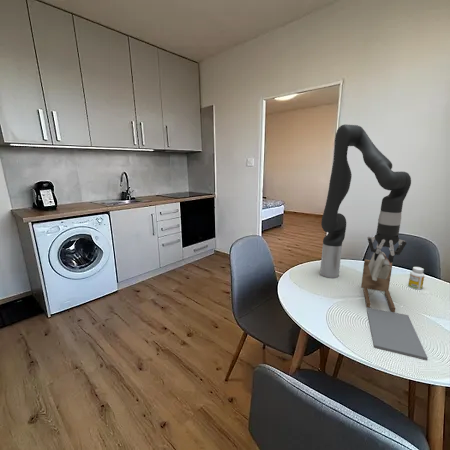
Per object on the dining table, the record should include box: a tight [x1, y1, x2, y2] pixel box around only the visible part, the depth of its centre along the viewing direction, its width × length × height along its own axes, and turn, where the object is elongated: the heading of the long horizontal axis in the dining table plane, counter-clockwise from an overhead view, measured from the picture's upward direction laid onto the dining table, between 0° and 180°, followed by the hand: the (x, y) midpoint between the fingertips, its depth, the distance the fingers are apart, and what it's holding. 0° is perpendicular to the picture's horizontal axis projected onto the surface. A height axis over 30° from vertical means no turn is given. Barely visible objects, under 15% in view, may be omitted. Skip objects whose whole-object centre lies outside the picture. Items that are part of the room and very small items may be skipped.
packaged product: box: [368, 249, 393, 281], centre depth 105 cm, size 18×5×10 cm, turn 156°
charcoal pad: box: [366, 307, 428, 361], centre depth 89 cm, size 14×24×1 cm, turn 156°
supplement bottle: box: [407, 266, 425, 291], centre depth 119 cm, size 5×5×10 cm
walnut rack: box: [360, 259, 397, 313], centre depth 109 cm, size 11×20×14 cm, turn 156°
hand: (382, 262), depth 105 cm, fingers closed on packaged product, 4 cm apart
